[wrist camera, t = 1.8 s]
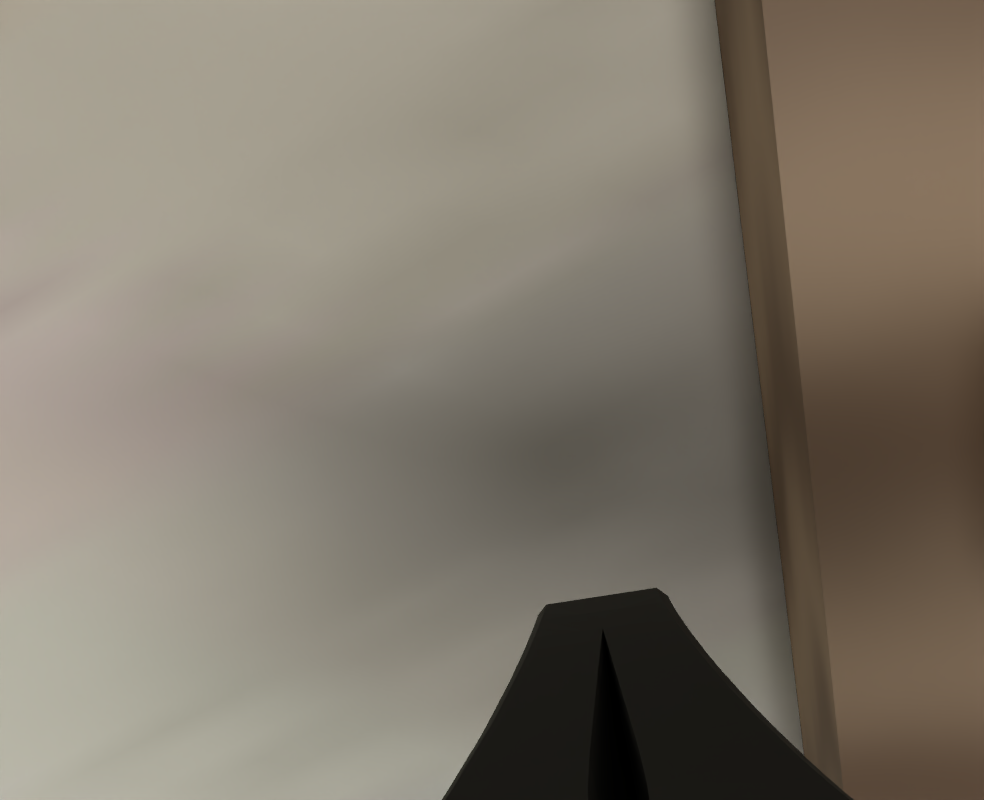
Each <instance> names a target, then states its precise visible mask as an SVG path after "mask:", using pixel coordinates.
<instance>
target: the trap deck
mask: <svg viewBox="0 0 984 800" xmlns="http://www.w3.org/2000/svg"><path fill="white" fill-rule="evenodd" d="M715 6H716V15H717V23H718V32H719V40H720V49H721V57H722V65H723V74H724V82H725V91H726V99H727V108H728V116H729V124H730V133H731V141H732V150H733V158H734V167H735V175H736V184H737V192H738V200H739V209H740V217H741V226H742V234H743V243H744V251H745V259H746V268H747V276H748V285H749V293H750V302H751V310H752V319H753V327H754V335H755V344H756V352H757V361H758V369H759V378H760V386H761V394H762V403H763V411H764V420H765V428H766V437H767V445H768V454H769V462H770V470H771V479H772V487H773V496H774V504H775V513H776V521H777V529H778V538H779V546H780V555H781V563H782V572H783V580H784V589H785V597H786V605H787V614H788V622H789V631H790V639H791V648H792V656H793V665H794V673H795V681H796V690H797V698H798V707H799V715H800V724H801V732H802V740H803V749H804V756H805V757H806V758H807V759H808V760H809V761H810V762H811V763H812V764H814V765H815V766H816V767H817V768H818V769H819V770H820V771H821V772H822V773H823V774H825V775H826V776H827V777H828V778H829V779H830V780H831V781H833V782H834V783H835V784H836V785H837V786H838V787H839V788H841V789H842V790H843V791H844V792H845V793H846V794H848V795H849V796H850V797H851V798H853V799H854V800H984V0H715Z"/></svg>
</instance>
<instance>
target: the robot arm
mask: <svg viewBox="0 0 984 800" xmlns="http://www.w3.org/2000/svg"><path fill="white" fill-rule="evenodd" d="M442 800H854V799H853V798H851V797H850V796H849V795H848V794H846V793H845V792H844V791H843V790H842V789H841V788H839V787H838V786H837V785H836V784H835V783H834V782H833V781H831V780H830V779H829V778H828V777H827V776H826V775H825V774H823V773H822V772H821V771H820V770H819V769H818V768H817V767H816V766H815V765H814V764H812V763H811V762H810V761H809V760H808V759H807V758H806V757H805V756H804V755H803V754H802V753H801V752H800V751H799V750H797V749H796V748H795V747H794V746H793V745H792V744H791V743H790V742H789V741H788V740H787V739H786V738H785V737H784V736H783V735H782V734H781V733H780V732H779V731H778V730H777V729H776V728H775V727H774V726H773V725H772V724H771V723H770V722H769V721H768V720H767V719H766V718H765V717H764V716H763V715H762V714H761V713H760V712H759V711H758V710H757V709H756V708H755V707H754V706H753V705H752V704H751V703H750V702H749V701H748V699H747V698H746V697H745V696H744V695H743V694H742V693H741V692H740V691H739V689H738V688H737V687H736V686H735V685H734V684H733V683H732V682H731V681H730V679H729V678H728V677H727V676H726V675H725V674H724V673H723V672H722V671H721V669H720V668H719V667H718V666H717V665H716V664H715V662H714V661H713V660H712V659H711V658H710V656H709V655H708V654H707V653H706V651H705V650H704V649H703V648H702V646H701V645H700V644H699V642H698V641H697V640H696V639H695V637H694V636H693V635H692V633H691V632H690V631H689V629H688V628H687V626H686V625H685V624H684V622H683V621H682V619H681V618H680V616H679V615H678V613H677V612H676V610H675V608H674V607H673V605H672V603H671V601H670V599H669V597H668V596H667V595H666V594H664V593H663V592H662V591H660V590H659V589H657V588H652V589H646V590H639V591H633V592H626V593H620V594H613V595H606V596H600V597H593V598H587V599H580V600H574V601H567V602H561V603H554V604H548V605H546V606H545V607H544V608H543V610H542V611H541V612H540V614H539V615H538V617H537V620H536V623H535V626H534V628H533V631H532V633H531V636H530V638H529V640H528V643H527V645H526V647H525V650H524V652H523V654H522V657H521V659H520V661H519V663H518V665H517V667H516V669H515V672H514V674H513V676H512V678H511V680H510V682H509V684H508V686H507V688H506V690H505V692H504V694H503V696H502V697H501V699H500V701H499V703H498V705H497V707H496V709H495V711H494V713H493V715H492V717H491V718H490V720H489V722H488V724H487V726H486V728H485V730H484V731H483V733H482V735H481V737H480V739H479V740H478V742H477V744H476V745H475V747H474V749H473V750H472V752H471V753H470V755H469V757H468V758H467V760H466V762H465V763H464V765H463V767H462V768H461V770H460V771H459V773H458V775H457V776H456V778H455V780H454V781H453V783H452V785H451V786H450V788H449V789H448V791H447V793H446V794H445V796H444V797H443V799H442Z"/></svg>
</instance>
